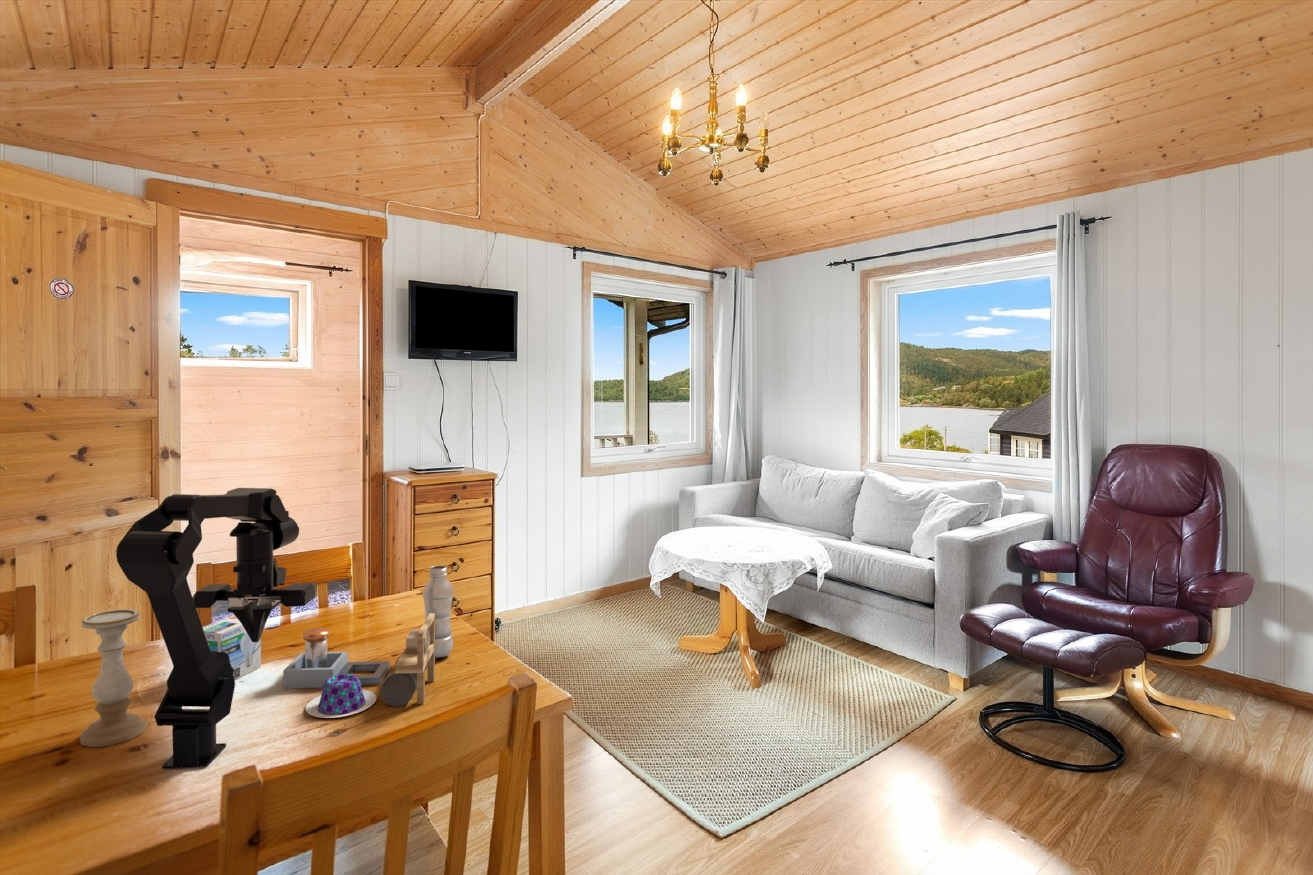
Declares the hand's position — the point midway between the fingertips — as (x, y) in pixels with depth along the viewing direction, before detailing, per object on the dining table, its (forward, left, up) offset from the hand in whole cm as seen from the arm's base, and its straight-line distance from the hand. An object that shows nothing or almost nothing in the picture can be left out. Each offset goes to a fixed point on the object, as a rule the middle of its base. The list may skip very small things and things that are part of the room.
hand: (256, 641), depth 124 cm
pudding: (0, -15, -13) cm, 20 cm away
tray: (+13, -6, -12) cm, 19 cm away
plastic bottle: (+23, -28, -13) cm, 38 cm away
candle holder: (-8, +19, -13) cm, 24 cm away
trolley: (+5, -26, -12) cm, 29 cm away
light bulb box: (+16, +12, -13) cm, 24 cm away
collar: (+13, -15, -12) cm, 23 cm away
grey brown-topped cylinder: (+13, -6, -12) cm, 19 cm away
